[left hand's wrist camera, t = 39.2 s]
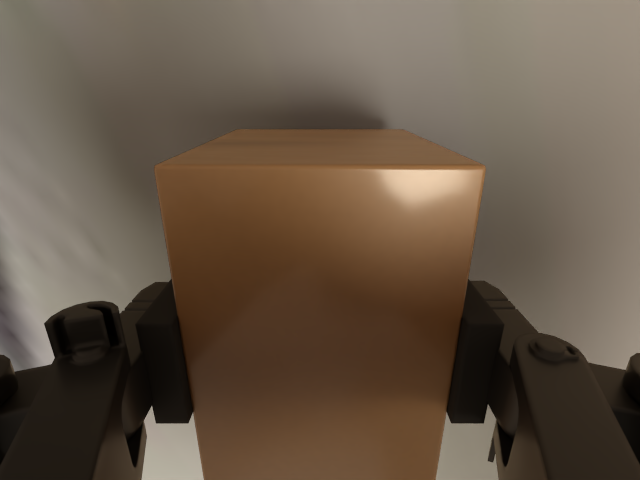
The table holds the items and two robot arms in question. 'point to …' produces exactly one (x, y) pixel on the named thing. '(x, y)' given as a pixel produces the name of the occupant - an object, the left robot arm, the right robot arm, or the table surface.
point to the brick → (319, 298)
